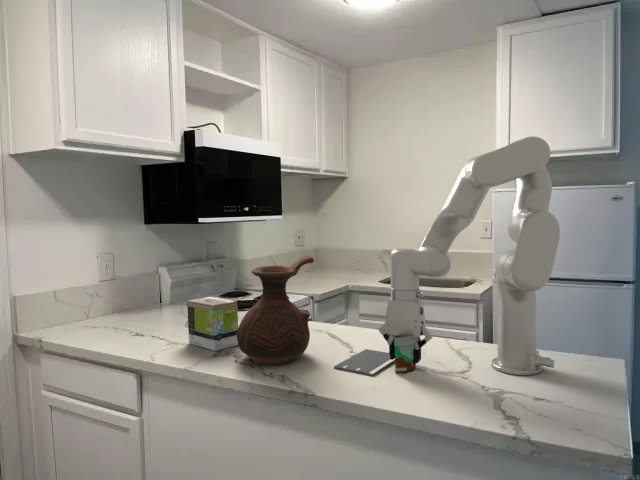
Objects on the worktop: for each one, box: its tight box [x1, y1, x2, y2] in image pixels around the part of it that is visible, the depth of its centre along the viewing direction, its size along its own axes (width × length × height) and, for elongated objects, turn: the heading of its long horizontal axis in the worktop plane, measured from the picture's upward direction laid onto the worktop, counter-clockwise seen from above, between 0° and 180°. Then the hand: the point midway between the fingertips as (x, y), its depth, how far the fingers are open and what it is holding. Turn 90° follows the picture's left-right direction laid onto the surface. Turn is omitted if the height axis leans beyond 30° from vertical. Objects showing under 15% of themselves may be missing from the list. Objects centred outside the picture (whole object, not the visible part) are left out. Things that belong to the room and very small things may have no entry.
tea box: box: [186, 296, 239, 352], centre depth 159 cm, size 15×10×15 cm, turn 47°
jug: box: [237, 254, 315, 366], centre depth 142 cm, size 22×22×30 cm
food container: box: [394, 336, 419, 375], centre depth 131 cm, size 12×6×10 cm, turn 166°
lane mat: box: [333, 348, 395, 377], centre depth 137 cm, size 12×18×1 cm, turn 146°
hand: (404, 359), depth 131 cm, fingers closed on food container, 5 cm apart
